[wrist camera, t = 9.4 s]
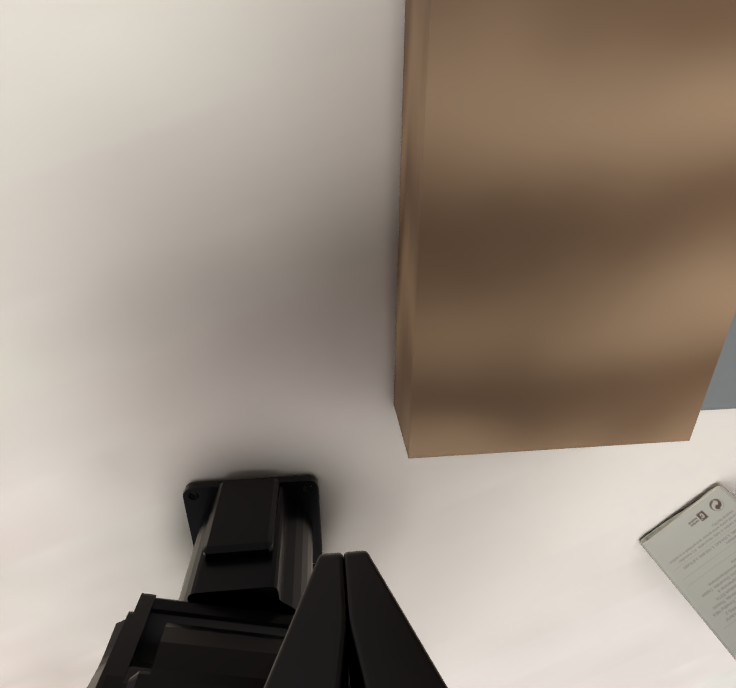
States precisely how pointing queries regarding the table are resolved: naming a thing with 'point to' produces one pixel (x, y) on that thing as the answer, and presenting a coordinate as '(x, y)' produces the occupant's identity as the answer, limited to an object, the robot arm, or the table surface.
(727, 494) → the skincare box
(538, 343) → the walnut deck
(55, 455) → the table surface
